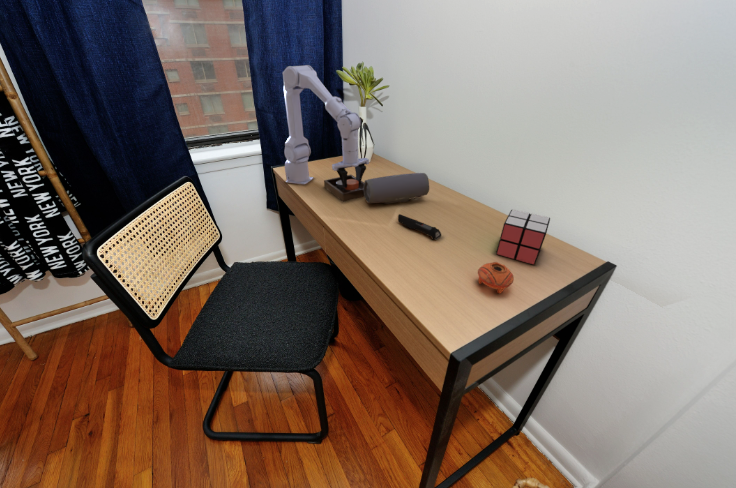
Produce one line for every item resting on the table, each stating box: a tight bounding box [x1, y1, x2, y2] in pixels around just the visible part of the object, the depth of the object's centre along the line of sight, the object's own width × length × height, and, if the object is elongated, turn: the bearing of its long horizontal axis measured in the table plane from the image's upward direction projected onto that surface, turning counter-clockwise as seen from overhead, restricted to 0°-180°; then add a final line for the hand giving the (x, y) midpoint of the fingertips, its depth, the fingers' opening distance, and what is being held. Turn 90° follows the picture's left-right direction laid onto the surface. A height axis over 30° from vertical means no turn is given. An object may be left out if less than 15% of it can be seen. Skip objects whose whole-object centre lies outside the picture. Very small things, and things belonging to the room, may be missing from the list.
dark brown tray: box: [323, 174, 365, 203], centre depth 122 cm, size 17×13×3 cm
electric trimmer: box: [397, 213, 442, 241], centre depth 96 cm, size 4×16×3 cm, turn 45°
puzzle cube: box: [495, 209, 551, 266], centre depth 84 cm, size 10×10×10 cm
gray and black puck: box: [336, 180, 346, 190], centre depth 125 cm, size 6×6×2 cm
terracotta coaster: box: [345, 179, 359, 190], centre depth 118 cm, size 6×6×2 cm
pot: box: [477, 261, 515, 294], centre depth 73 cm, size 8×8×7 cm
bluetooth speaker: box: [363, 172, 430, 205], centre depth 113 cm, size 23×9×10 cm, turn 108°
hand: (351, 185), depth 118 cm, fingers closed on terracotta coaster, 5 cm apart
